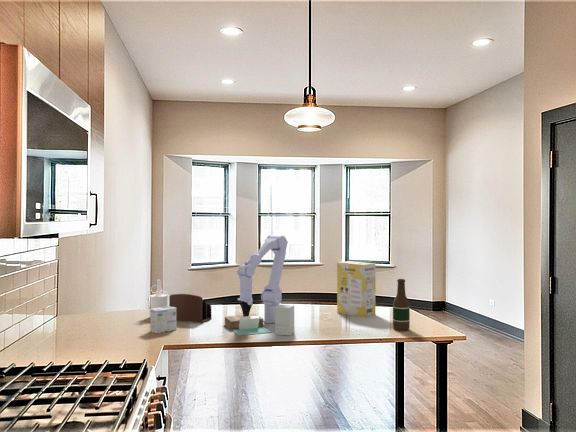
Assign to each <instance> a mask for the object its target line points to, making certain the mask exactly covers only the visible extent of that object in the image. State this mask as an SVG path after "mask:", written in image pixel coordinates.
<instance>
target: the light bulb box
mask: <svg viewBox="0 0 576 432" xmlns="http://www.w3.org/2000/svg"><path fill="white" fill-rule="evenodd" d="M149 311H150V312H149V313H150V315H149V319H150V332H151V331H153V332H152V333H154V332H156V333H155V334H160V333H159V332H162V333H166V332H165V331H168V332H171V331H172V330H173V331H177V325H178V324H177V323H178V322H177V321H176V307H171V306H168V305H167V307H160V308H154V309H151V308H150V310H149Z"/></svg>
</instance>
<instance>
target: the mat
mask: <svg viewBox="0 0 576 432" xmlns="http://www.w3.org/2000/svg"><path fill="white" fill-rule="evenodd" d="M231 331H232V332H234V333H235V334H236V335H237V336H239V337H240V336H248V335H249V336H251V335H261V334H269V333H272V331H271V330H269V329H268V328H266V327H265V326H263V327H258V328H255V329H244V330H240V329H235V330H231Z"/></svg>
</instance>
